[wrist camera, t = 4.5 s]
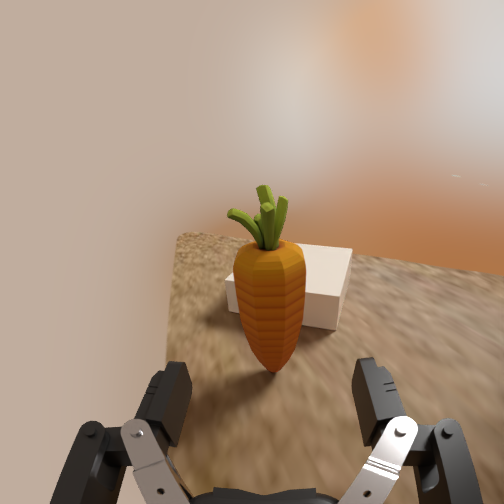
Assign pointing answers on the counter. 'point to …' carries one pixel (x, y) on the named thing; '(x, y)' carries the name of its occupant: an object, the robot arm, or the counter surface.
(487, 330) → the counter surface
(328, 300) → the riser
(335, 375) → the counter surface
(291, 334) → the carrot
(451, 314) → the counter surface
